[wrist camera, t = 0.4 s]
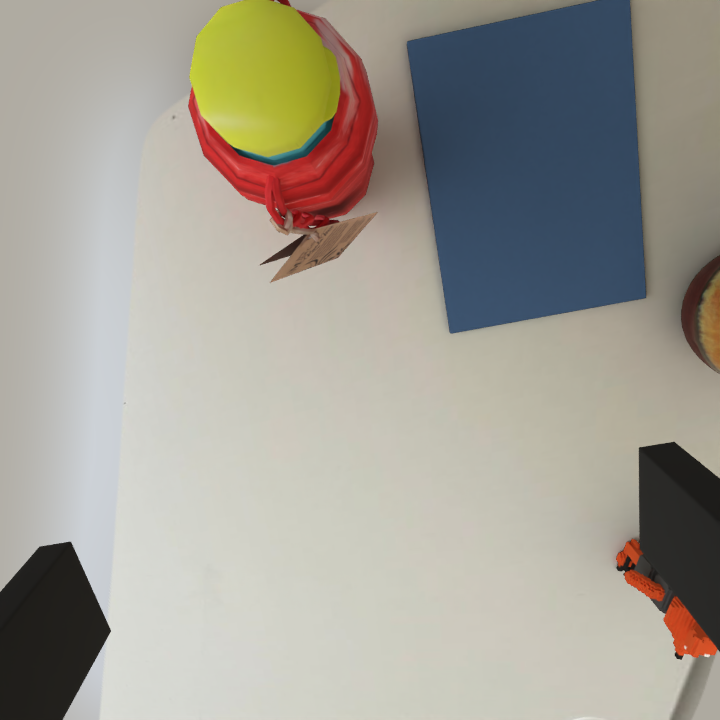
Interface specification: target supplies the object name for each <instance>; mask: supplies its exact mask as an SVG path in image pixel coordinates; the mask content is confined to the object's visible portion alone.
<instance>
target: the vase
mask: <svg viewBox="0 0 720 720" xmlns="http://www.w3.org/2000/svg"><path fill="white" fill-rule="evenodd" d="M681 321H682V328H683V331H684V334H685V337H686V339H687V341H688V343H689V345H690V347H691V348H692V350H693V351H694V352H695V353H696V355H697V356H698V357H699V358H700V359H701V360H702V361H703V362H704V363H705V364H707V365H708V366H709V367H710V368H711V369H713V370H714V371H716V372H717V373H719V374H720V255H719V256H718V257H716V258H715V259H713V260H712V261H711V262H709V263H708V264H707V265H706V266H705V267H703V269H702V270H701V271H700V272H699V273H698V274H697V275H696V276H695V278H694V279H693V281H692V282H691V284H690V286H689V288H688V290H687V292H686V294H685V297H684V300H683V305H682V310H681Z"/></svg>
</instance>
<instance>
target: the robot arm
mask: <svg viewBox="0 0 720 720" xmlns="http://www.w3.org/2000/svg"><path fill="white" fill-rule="evenodd" d="M639 525H640V550H641V551H642V553H643V554H644V555H645V556H646V558H647V559H648V560H649V562H650V563H651V564H652V565H653V567H654V568H655V569H656V571H657V572H658V573H659V574H660V576H661V577H662V578H663V579H664V581H665V582H666V583H667V585H668V586H669V587H670V588H671V590H672V591H673V592H674V594H675V595H676V596H677V597H678V599H679V600H680V601H681V603H682V604H683V605H684V606H685V608H686V609H687V610H688V612H689V613H690V614H691V615H692V617H693V618H694V619H695V621H696V622H697V623H698V624H699V626H700V627H701V628H702V629H703V631H704V632H705V633H706V635H707V636H708V637H709V638H710V640H711V641H712V642H713V644H714V645H715V646H716V647H717V649H718V650H719V651H720V478H718V477H717V476H716V475H715V474H713V473H712V472H711V471H710V470H708V469H707V468H706V467H705V466H703V465H702V464H701V463H700V462H698V461H697V460H696V459H695V458H694V457H692V456H691V455H690V454H689V453H687V452H686V451H685V450H684V449H682V448H681V447H680V446H679V445H677V444H676V443H675V442H670V443H664V444H658V445H652V446H646V447H640V448H639ZM110 632H111V630H110V628H109V625H108V623H107V621H106V619H105V616H104V614H103V612H102V610H101V608H100V605H99V603H98V601H97V599H96V596H95V594H94V592H93V590H92V588H91V585H90V583H89V581H88V579H87V576H86V574H85V572H84V570H83V568H82V565H81V564H80V561H79V559H78V556H77V554H76V552H75V550H74V548H73V545H72V543H71V542H66V543H59V544H53V545H47V546H41V547H39V548H38V549H37V550H36V552H35V553H34V554H33V555H32V556H31V557H30V558H29V560H28V561H27V562H26V563H25V564H24V565H23V566H22V568H21V569H20V570H19V571H18V572H17V573H16V574H15V576H14V577H13V578H12V579H11V580H10V581H9V583H8V584H7V585H6V586H5V587H4V588H3V589H2V591H1V592H0V720H63V717H64V716H65V714H66V712H67V711H68V709H69V707H70V705H71V703H72V701H73V699H74V697H75V696H76V694H77V692H78V690H79V689H80V686H81V685H82V683H83V681H84V679H85V677H86V676H87V674H88V672H89V670H90V668H91V667H92V665H93V663H94V661H95V659H96V658H97V656H98V654H99V652H100V650H101V648H102V647H103V645H104V643H105V641H106V639H107V637H108V636H109V634H110Z"/></svg>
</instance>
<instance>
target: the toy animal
mask: <svg viewBox="0 0 720 720" xmlns="http://www.w3.org/2000/svg"><path fill="white" fill-rule="evenodd" d="M616 560H617V562H618V566H617V570H618V571H622V570H624V571H625V573H624V574H623V575H624V576H625V580H626V582H627V583H628V584H630V585H631V586H634V587H635V588H637V589H638V590H639V591H641V592H642V593H645V595H646V596H648V597H649V598H650V599H651V600H652V601H653V603H654V604H655V605H656V606H657V608H658V609H659V610H660V611H662V612H663V613H665V614H666V615H665V617H664V619H663V620H664V622H665V624H666V626H667V627H668V629H669V630H670V631H671V633H672V636H673V638H674V639H675V640H674V642H673V644H674V646H675V647H676V648H675V651H676V653H675V656H676V658H677V659H681V660H682V658H683V655H684V654H690V655H692V656H693V657H697V658H698V656H699V655H704V656H706V657H709V656H710V655H715V653H716V651H717V647H716V646H715V645H714V644H713V642H712V641H711V640H710V638H709V637H708V636H707V635H706V633H705V632H704V631H703V629H702V628H701V627H700V626H699V624H698V623H697V622H696V621H695V619H694V618H693V617H692V615H691V614H690V613H689V612H688V610H687V609H686V608H685V606H684V605H683V604H682V603H681V601H680V600H679V599H678V597H677V596H676V595H675V594H674V592H673V591H672V590H671V588H670V587H669V586H668V585H667V583H666V582H665V581H664V579H663V578H662V577H661V576H660V574H659V573H658V572H657V571H656V569H655V568H654V567H653V565H652V564H651V563H650V562H649V560H648V559H647V558H646V556H645V555H644V554H643V553H642V551H641V550H640V544H639V543H638V542H637V541H636V540H635V539H632V540H631V542H627V543H626V545H625V548H624V550H623V552H622V551H621V553H618V555H617V558H616Z"/></svg>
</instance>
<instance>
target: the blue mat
mask: <svg viewBox="0 0 720 720" xmlns="http://www.w3.org/2000/svg"><path fill="white" fill-rule="evenodd" d="M407 49H408V56H409V62H410V69H411V76H412V82H413V89H414V96H415V103H416V109H417V116H418V123H419V129H420V136H421V143H422V149H423V156H424V163H425V170H426V176H427V183H428V190H429V196H430V203H431V210H432V216H433V223H434V230H435V236H436V243H437V250H438V257H439V263H440V270H441V277H442V283H443V290H444V297H445V303H446V310H447V317H448V324H449V330H450V333H457V332H462V331H468V330H473V329H479V328H484V327H490V326H495V325H501V324H506V323H512V322H517V321H522V320H528V319H533V318H539V317H544V316H550V315H555V314H561V313H566V312H572V311H577V310H583V309H588V308H594V307H599V306H605V305H610V304H616V303H621V302H627V301H632V300H638V299H643V298H646V286H645V267H644V249H643V231H642V212H641V194H640V176H639V158H638V139H637V121H636V103H635V84H634V66H633V48H632V29H631V11H630V0H598V1H593V2H588V3H584V4H579V5H574V6H570V7H565V8H560V9H556V10H551V11H546V12H542V13H537V14H532V15H528V16H523V17H518V18H514V19H509V20H504V21H500V22H495V23H490V24H486V25H481V26H476V27H472V28H467V29H462V30H458V31H453V32H448V33H444V34H439V35H434V36H430V37H425V38H420V39H416V40H411V41H407Z"/></svg>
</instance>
